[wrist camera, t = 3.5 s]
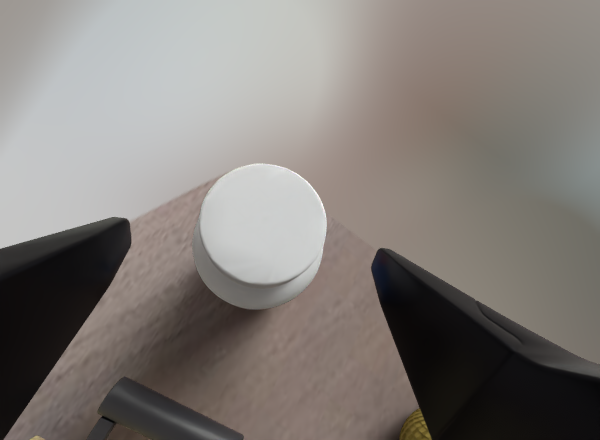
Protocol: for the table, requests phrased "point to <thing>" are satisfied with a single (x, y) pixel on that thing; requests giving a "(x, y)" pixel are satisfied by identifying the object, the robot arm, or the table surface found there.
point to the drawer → (153, 416)
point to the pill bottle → (259, 236)
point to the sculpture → (415, 428)
